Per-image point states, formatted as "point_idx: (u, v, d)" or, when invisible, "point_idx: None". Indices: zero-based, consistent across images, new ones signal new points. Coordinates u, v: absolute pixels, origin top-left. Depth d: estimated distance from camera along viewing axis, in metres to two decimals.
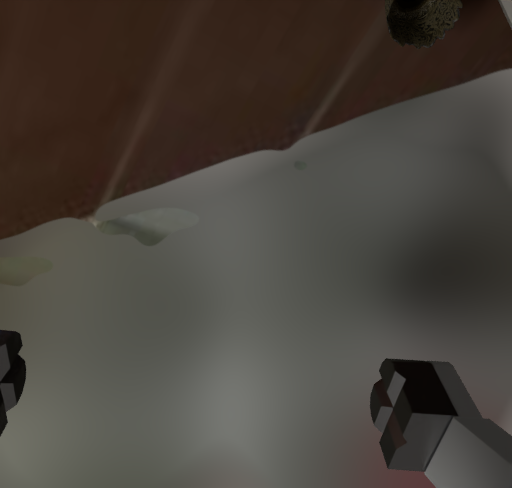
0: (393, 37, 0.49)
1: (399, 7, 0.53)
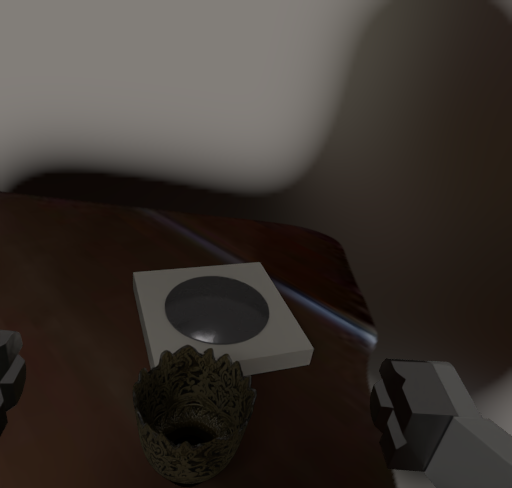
0: None
1: None
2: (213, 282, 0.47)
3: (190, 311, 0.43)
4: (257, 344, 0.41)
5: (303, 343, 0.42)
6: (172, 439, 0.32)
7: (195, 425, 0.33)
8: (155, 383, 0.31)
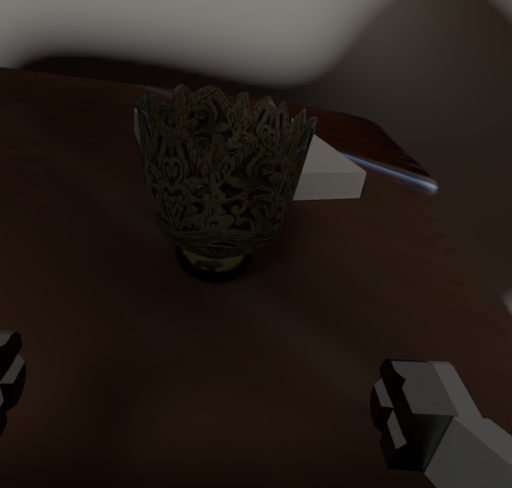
0: None
1: None
2: None
3: None
4: None
5: (352, 167, 0.33)
6: None
7: None
8: None
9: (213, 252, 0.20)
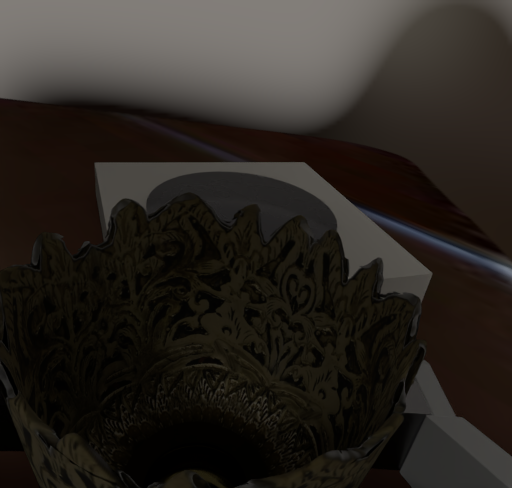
0: None
1: None
2: (232, 179, 0.28)
3: None
4: None
5: (410, 265, 0.22)
6: (152, 454, 0.12)
7: (211, 418, 0.13)
8: (99, 295, 0.11)
9: None
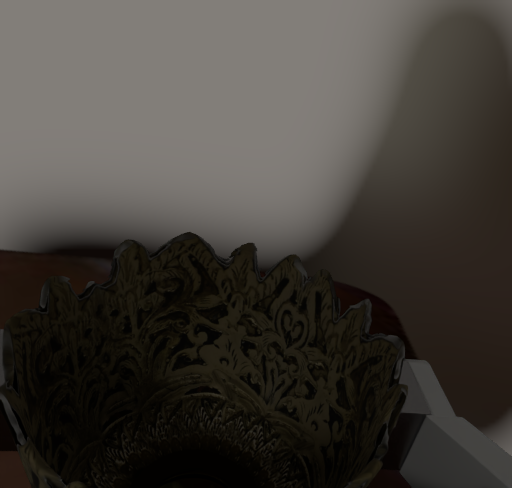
0: None
1: None
2: None
3: None
4: None
5: None
6: (151, 482, 0.12)
7: (209, 446, 0.13)
8: (102, 331, 0.11)
9: None
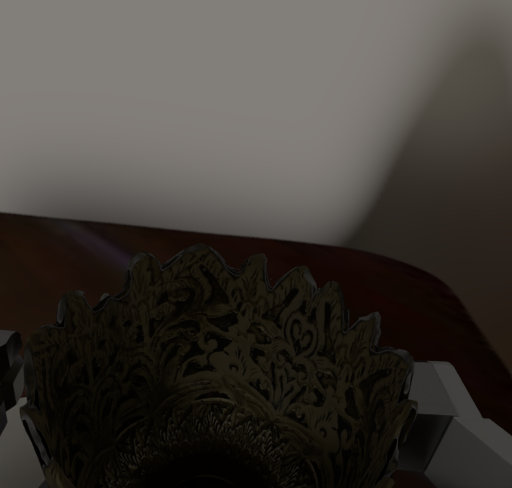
0: None
1: None
2: None
3: None
4: None
5: None
6: (163, 486, 0.13)
7: (219, 450, 0.14)
8: (115, 341, 0.12)
9: None
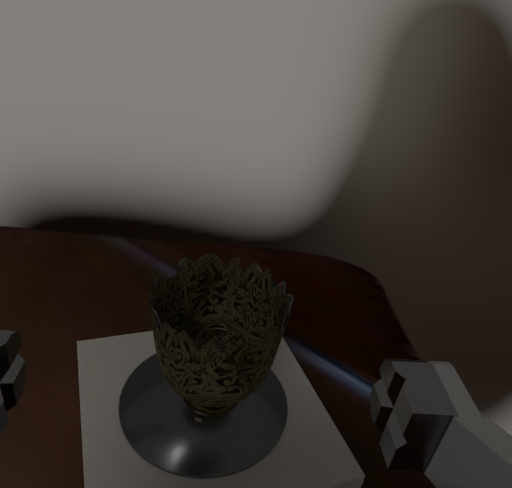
0: None
1: None
2: None
3: (159, 411, 0.27)
4: (270, 472, 0.24)
5: (347, 465, 0.25)
6: None
7: None
8: (173, 296, 0.26)
9: (210, 405, 0.24)
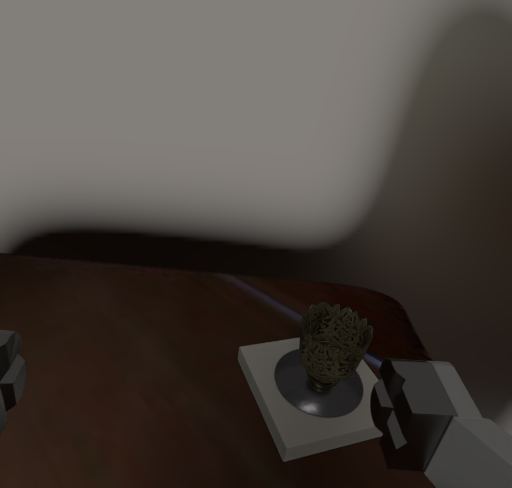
0: None
1: None
2: None
3: (297, 385, 0.50)
4: (359, 416, 0.48)
5: None
6: None
7: None
8: (306, 324, 0.50)
9: (330, 381, 0.48)
